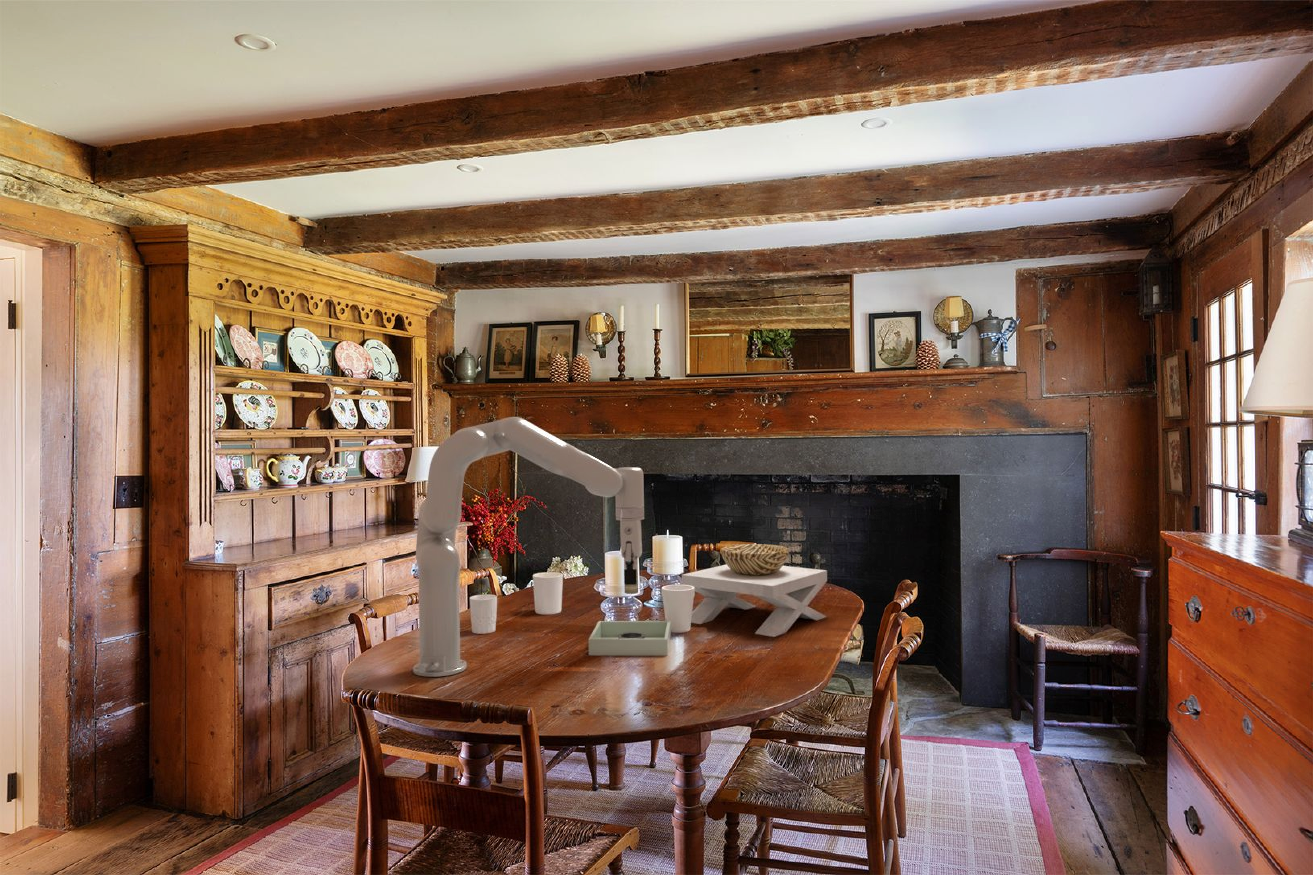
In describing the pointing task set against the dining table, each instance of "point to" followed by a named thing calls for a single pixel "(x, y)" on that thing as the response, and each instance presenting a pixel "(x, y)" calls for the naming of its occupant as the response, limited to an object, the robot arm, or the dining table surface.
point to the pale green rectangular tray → (609, 644)
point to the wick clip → (631, 635)
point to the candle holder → (548, 592)
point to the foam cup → (678, 606)
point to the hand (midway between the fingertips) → (631, 582)
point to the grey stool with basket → (757, 586)
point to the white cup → (483, 613)
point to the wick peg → (634, 588)
